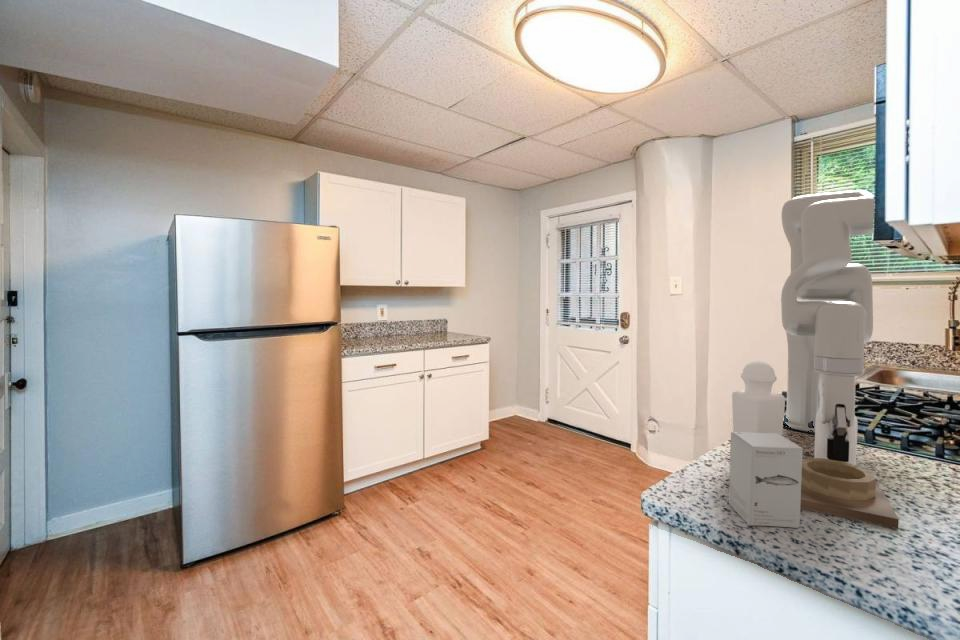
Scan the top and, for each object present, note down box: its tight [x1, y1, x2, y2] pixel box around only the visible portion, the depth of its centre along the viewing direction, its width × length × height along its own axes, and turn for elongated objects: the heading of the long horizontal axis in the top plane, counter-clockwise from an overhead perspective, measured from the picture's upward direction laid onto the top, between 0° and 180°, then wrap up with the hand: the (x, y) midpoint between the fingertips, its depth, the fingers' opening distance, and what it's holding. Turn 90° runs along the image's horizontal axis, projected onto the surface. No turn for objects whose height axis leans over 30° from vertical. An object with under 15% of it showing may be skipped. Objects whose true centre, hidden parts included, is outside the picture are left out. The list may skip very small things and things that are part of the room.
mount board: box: [800, 457, 900, 530], centre depth 75 cm, size 18×13×4 cm
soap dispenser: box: [731, 360, 786, 436], centre depth 86 cm, size 6×6×22 cm
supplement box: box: [728, 431, 804, 529], centre depth 68 cm, size 7×7×13 cm
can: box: [813, 409, 859, 466], centre depth 86 cm, size 6×6×12 cm
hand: (834, 453), depth 86 cm, fingers closed on can, 6 cm apart
